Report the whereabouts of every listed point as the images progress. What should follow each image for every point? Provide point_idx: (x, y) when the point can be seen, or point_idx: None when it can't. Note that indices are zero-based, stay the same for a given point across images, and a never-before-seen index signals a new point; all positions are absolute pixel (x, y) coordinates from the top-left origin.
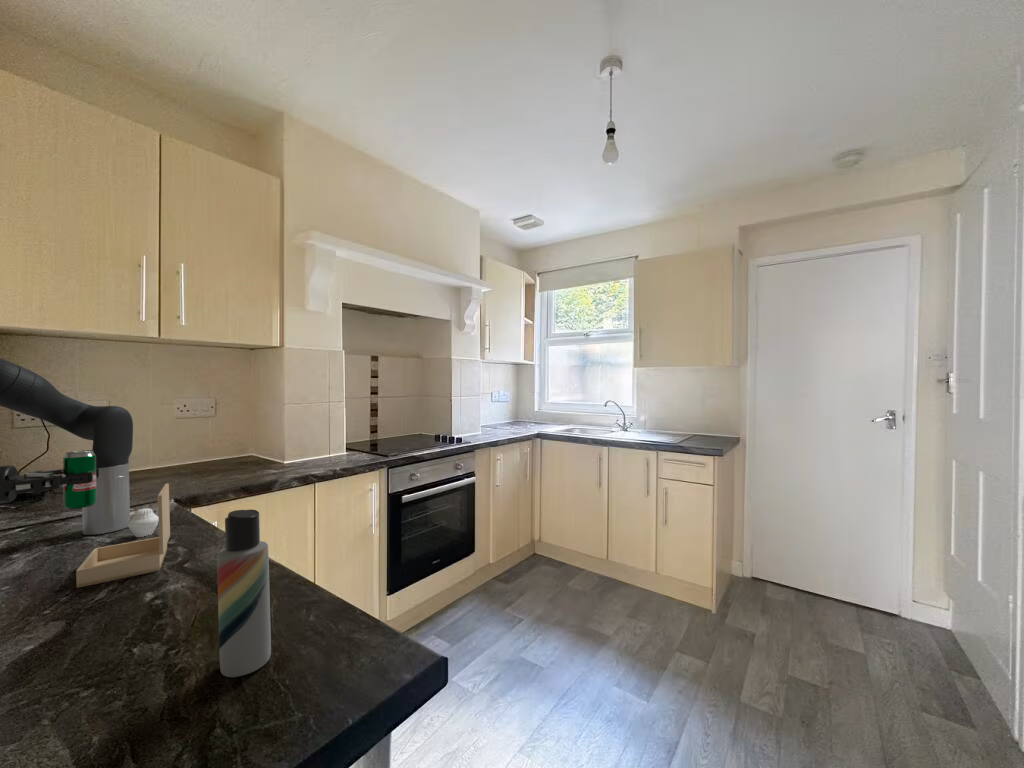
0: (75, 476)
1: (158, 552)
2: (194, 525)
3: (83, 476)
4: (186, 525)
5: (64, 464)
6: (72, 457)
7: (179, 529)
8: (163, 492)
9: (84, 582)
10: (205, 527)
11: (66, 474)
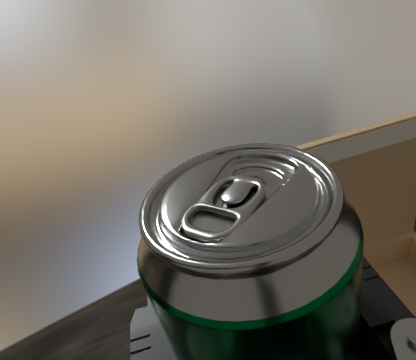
0: (384, 285)
1: (399, 238)
2: (88, 320)
3: (364, 259)
4: (71, 340)
5: (349, 319)
6: (351, 212)
7: (101, 343)
8: (388, 120)
9: None
10: (128, 288)
11: (403, 320)
